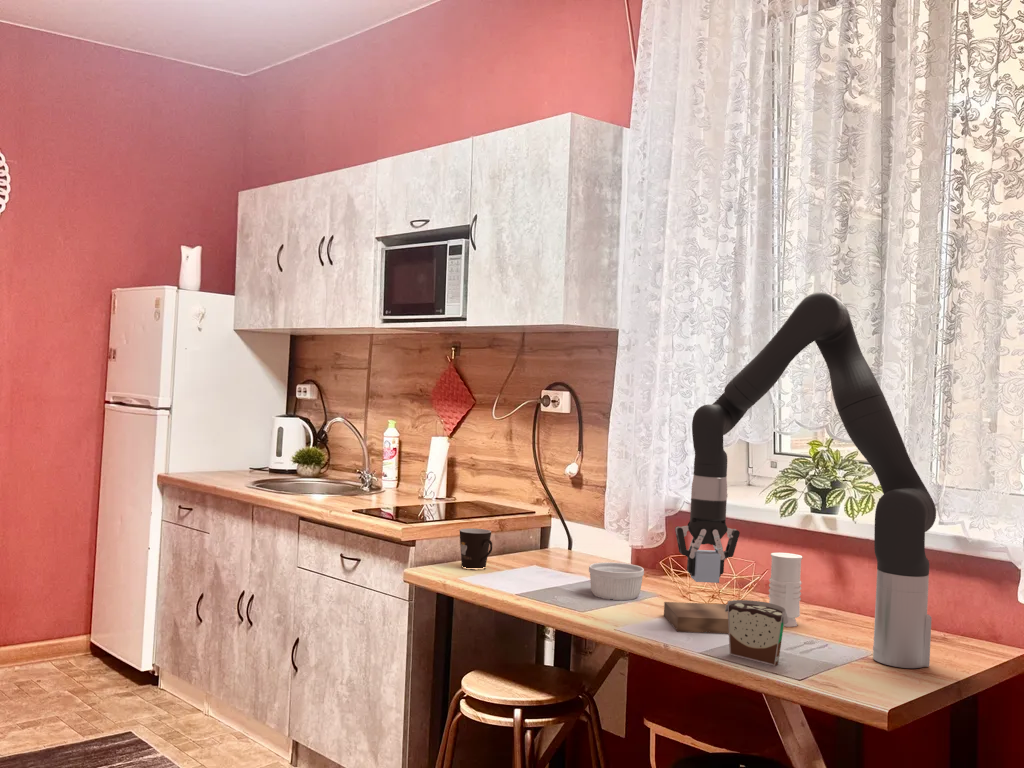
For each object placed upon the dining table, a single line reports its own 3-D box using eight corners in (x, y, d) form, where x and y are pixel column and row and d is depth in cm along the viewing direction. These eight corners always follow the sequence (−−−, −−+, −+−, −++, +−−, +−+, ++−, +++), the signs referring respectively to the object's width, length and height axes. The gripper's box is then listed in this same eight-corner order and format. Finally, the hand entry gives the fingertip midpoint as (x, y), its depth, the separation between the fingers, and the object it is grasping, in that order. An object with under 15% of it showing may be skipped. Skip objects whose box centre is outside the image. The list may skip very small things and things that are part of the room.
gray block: (713, 578, 206) (714, 550, 206) (719, 582, 201) (720, 554, 201) (690, 577, 206) (692, 549, 206) (695, 581, 201) (697, 553, 201)
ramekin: (590, 600, 222) (592, 571, 222) (584, 588, 235) (586, 560, 235) (647, 603, 223) (648, 573, 223) (637, 591, 236) (639, 563, 236)
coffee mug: (455, 564, 258) (457, 528, 259) (486, 565, 260) (488, 528, 260) (461, 573, 247) (463, 534, 247) (493, 573, 249) (495, 535, 249)
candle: (771, 626, 205) (775, 557, 205) (763, 618, 212) (766, 551, 212) (803, 628, 205) (806, 558, 205) (794, 620, 212) (797, 553, 212)
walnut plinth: (725, 617, 211) (726, 604, 211) (744, 634, 197) (744, 619, 197) (663, 615, 210) (664, 601, 210) (677, 631, 196) (678, 617, 196)
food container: (797, 661, 178) (800, 608, 178) (782, 667, 173) (785, 613, 173) (738, 647, 186) (740, 596, 186) (722, 652, 182) (725, 600, 182)
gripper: (736, 496, 208) (732, 573, 208) (672, 493, 207) (668, 571, 207) (746, 500, 200) (742, 581, 200) (679, 497, 200) (675, 578, 200)
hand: (704, 575), depth 204 cm, fingers closed on gray block, 5 cm apart
